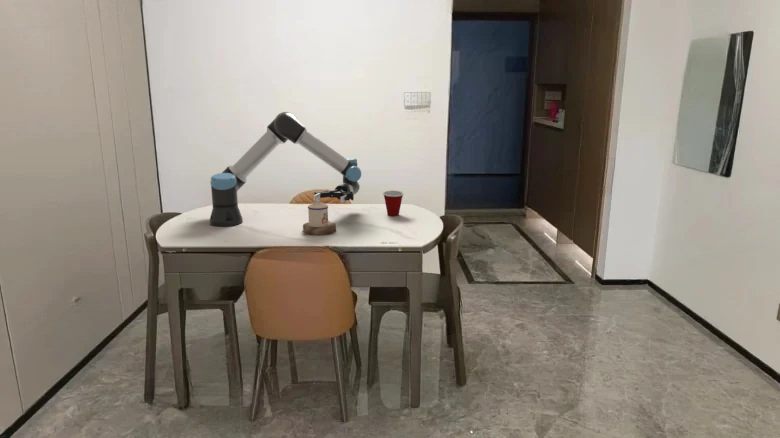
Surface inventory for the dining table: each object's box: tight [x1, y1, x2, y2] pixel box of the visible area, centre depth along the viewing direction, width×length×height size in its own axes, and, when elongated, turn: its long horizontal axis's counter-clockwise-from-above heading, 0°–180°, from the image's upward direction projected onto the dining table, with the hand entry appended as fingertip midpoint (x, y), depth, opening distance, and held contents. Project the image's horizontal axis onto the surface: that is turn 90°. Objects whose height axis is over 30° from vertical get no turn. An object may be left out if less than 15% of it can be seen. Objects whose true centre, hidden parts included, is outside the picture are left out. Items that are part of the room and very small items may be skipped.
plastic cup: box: [382, 190, 405, 217], centre depth 277 cm, size 11×11×12 cm
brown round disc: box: [302, 220, 337, 236], centre depth 246 cm, size 15×15×3 cm
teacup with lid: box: [307, 199, 329, 228], centre depth 245 cm, size 12×9×12 cm
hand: (327, 199), depth 254 cm, fingers open, 13 cm apart
